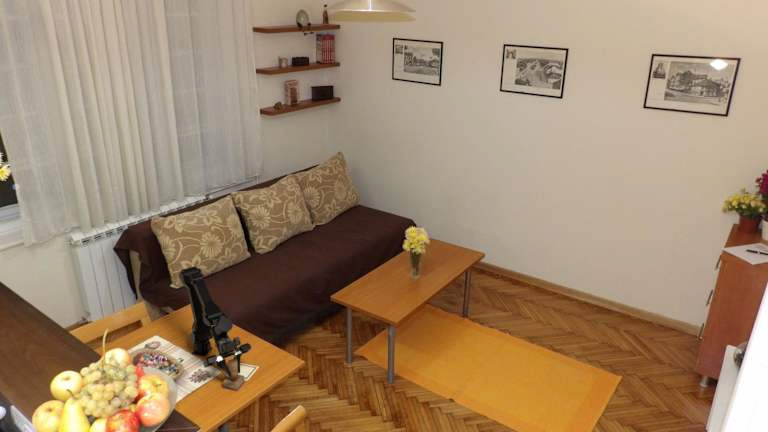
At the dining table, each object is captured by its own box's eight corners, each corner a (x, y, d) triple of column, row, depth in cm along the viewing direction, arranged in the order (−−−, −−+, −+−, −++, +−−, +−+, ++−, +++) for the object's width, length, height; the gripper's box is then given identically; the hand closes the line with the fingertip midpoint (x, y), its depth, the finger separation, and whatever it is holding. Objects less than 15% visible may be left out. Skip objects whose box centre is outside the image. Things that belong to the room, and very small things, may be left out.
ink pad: (219, 390, 225) (219, 388, 225) (228, 380, 232) (228, 378, 231) (237, 394, 223) (237, 392, 223) (246, 383, 230) (246, 381, 229)
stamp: (223, 387, 225) (221, 364, 221) (231, 379, 230) (229, 356, 227) (237, 390, 224) (235, 367, 220) (244, 382, 229) (243, 359, 225)
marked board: (225, 377, 233) (225, 375, 233) (238, 364, 242) (237, 362, 242) (247, 382, 231) (247, 380, 230) (259, 368, 240) (259, 366, 239)
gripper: (203, 340, 217) (217, 378, 212) (248, 325, 228) (262, 361, 224) (197, 348, 225) (210, 385, 221) (240, 333, 236) (253, 368, 232)
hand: (234, 375), depth 224 cm, fingers closed on stamp, 4 cm apart
